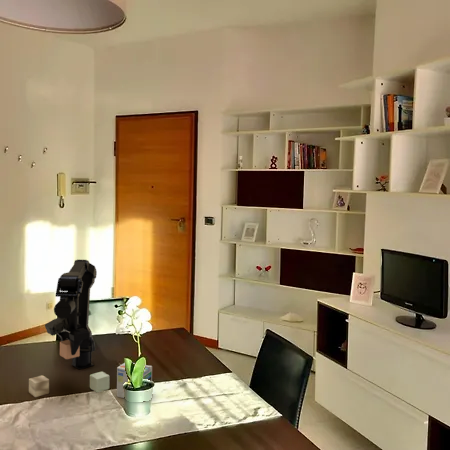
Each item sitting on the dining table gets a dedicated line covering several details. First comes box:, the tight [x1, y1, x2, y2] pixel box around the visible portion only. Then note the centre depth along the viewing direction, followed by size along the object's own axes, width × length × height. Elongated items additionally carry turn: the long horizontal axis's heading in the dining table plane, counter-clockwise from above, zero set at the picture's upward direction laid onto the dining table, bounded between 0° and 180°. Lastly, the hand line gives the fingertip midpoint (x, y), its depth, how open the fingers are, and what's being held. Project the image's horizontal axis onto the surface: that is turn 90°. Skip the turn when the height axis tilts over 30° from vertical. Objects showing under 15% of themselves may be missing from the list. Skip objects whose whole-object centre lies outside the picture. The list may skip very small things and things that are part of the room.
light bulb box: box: [116, 362, 153, 399], centre depth 184 cm, size 11×7×11 cm, turn 71°
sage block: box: [89, 371, 110, 393], centre depth 189 cm, size 5×5×5 cm
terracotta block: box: [59, 340, 80, 360], centre depth 187 cm, size 5×5×5 cm
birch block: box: [28, 375, 50, 398], centre depth 184 cm, size 5×5×5 cm
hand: (69, 352), depth 187 cm, fingers closed on terracotta block, 5 cm apart
